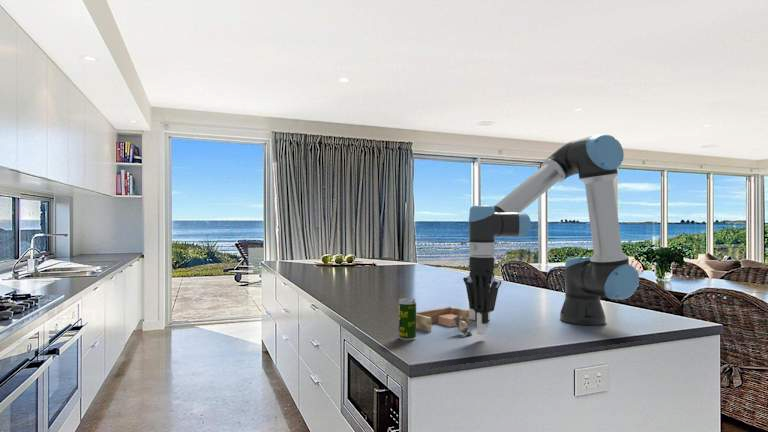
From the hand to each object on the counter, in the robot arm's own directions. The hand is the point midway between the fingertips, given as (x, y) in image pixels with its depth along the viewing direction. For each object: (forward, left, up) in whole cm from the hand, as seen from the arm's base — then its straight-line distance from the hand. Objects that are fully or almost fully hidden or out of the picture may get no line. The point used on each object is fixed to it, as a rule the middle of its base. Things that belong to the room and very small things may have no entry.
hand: (481, 333), depth 141 cm
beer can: (+15, +16, -2) cm, 23 cm away
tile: (+21, -8, -2) cm, 22 cm away
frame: (+22, -5, -2) cm, 22 cm away
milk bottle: (+19, -23, -2) cm, 30 cm away
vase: (+8, 0, -2) cm, 9 cm away
